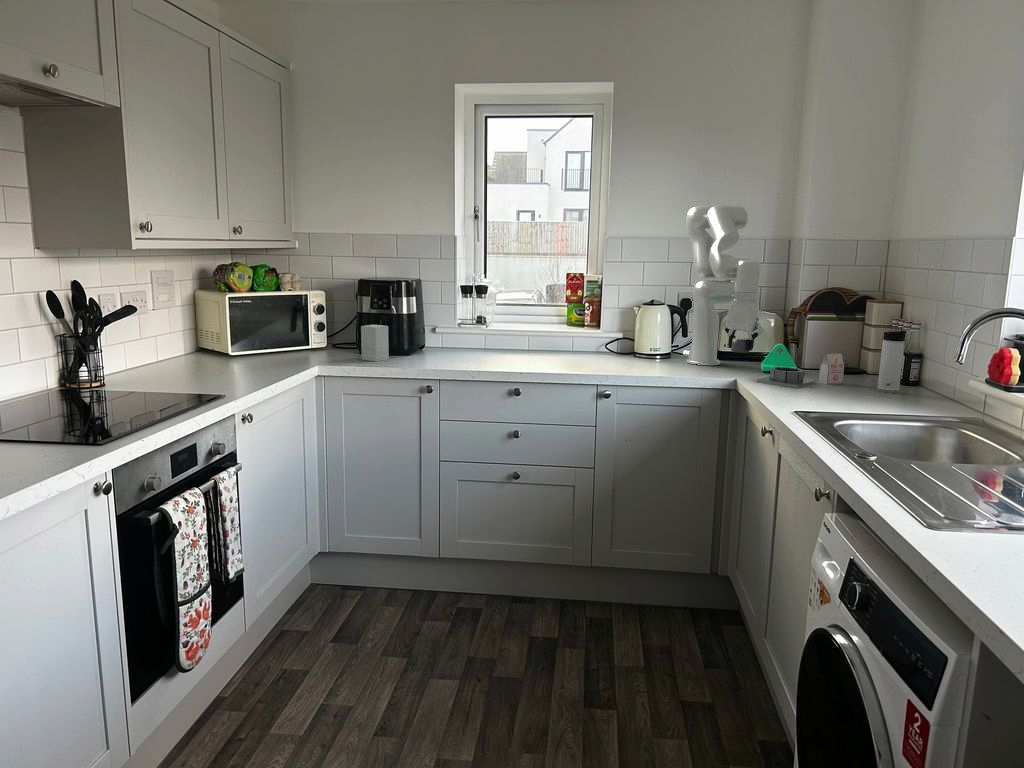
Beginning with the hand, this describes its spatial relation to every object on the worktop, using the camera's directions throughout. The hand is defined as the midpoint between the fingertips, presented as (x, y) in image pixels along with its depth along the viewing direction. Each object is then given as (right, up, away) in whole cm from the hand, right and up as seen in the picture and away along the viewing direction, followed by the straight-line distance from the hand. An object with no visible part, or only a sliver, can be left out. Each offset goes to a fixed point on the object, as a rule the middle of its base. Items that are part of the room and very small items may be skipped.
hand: (740, 348), depth 265 cm
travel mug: (+42, -15, -19) cm, 48 cm away
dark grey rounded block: (0, -1, 0) cm, 1 cm away
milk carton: (+29, -12, -5) cm, 32 cm away
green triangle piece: (+18, -8, +14) cm, 24 cm away
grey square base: (+13, -12, -7) cm, 19 cm away
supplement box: (-130, -3, +20) cm, 131 cm away
